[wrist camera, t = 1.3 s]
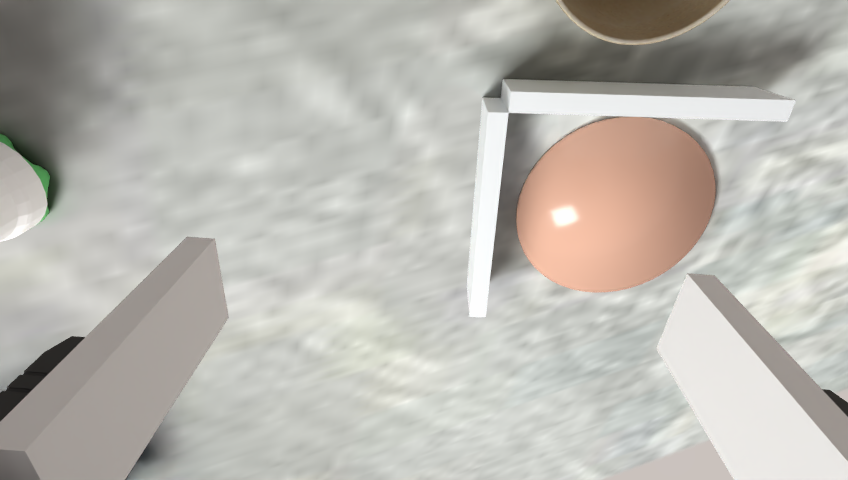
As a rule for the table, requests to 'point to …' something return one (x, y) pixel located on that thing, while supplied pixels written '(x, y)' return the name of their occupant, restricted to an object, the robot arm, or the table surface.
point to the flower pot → (639, 18)
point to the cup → (20, 192)
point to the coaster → (615, 204)
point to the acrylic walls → (598, 103)
